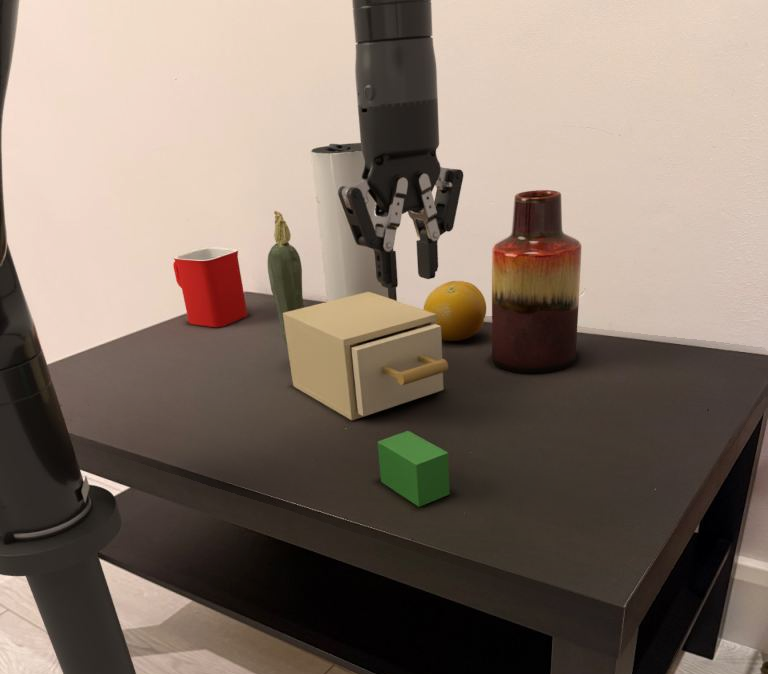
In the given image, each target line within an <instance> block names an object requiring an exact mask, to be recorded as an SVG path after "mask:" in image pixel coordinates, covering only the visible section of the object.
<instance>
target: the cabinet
mask: <svg viewBox="0 0 768 674" xmlns="http://www.w3.org/2000/svg"><path fill="white" fill-rule="evenodd" d="M283 318H284V325H285V332H286V339H287V345H286V347H287V346H288V348H287V353H288V359H289V366H290V373H291V380H292V387H293V388H296V389H297V390H299V391H301V392H302V393H304V394H306V395H307V396H309V397H310V398H312V399H314V400H316V401H317V402H319V403H320V404H322V405H324V406H326V407H328V408H329V409H331V410H332V411H335V412H337V413H338V414H340V415H342V416H343V417H345V418H346V419H349V420H350V421H355V420H357V419H360V418H363V417H367V416H370V415H373V414H376V413H379V412H382V411H385V410H389V409H391V408H394V407H397V406H400V405H402V404H405V403H409V402H412V401H415V400H418V399H421V398H424V397H427V396H430V395H433V394H436V393H439V392H440V391H438V392H435V393H432V394H429V395H426V396H423V397H420V398H417V399H414V400H411V401H408V402H405V403H402V404H399V405H396V406H393V407H390V408H387V409H384V410H381V411H378V412H375V413H372V414H369V415H366V416H362V415H360V414H358V409H357V406H356V399H355V389H354V379H353V369H352V360H351V350H350V345H352V344H356V343H359V342H363V341H367V340H370V339H374V338H377V337H381V336H384V335H388V334H391V333H395V332H398V331H402V330H405V329H409V328H413V327H416V326H420V325H423V327H426V326H430V325H433V324H436V314H434V313H431V312H428V311H425V310H424V309H422V308H419V307H416V306H413V305H410V304H407V303H405V302H401V301H398V300H397V301H395V300H392V299H389V298H386V297H383V296H381V295H378V294H375V293H372V292H365V293H361V294H357V295H353V296H349V297H345V298H341V299H337V300H333V301H329V302H327V301H325V302H321V303H318V304H313V305H309V306H304V308H301V309H297V310H293V311H289V312H285V313H283Z"/></svg>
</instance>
